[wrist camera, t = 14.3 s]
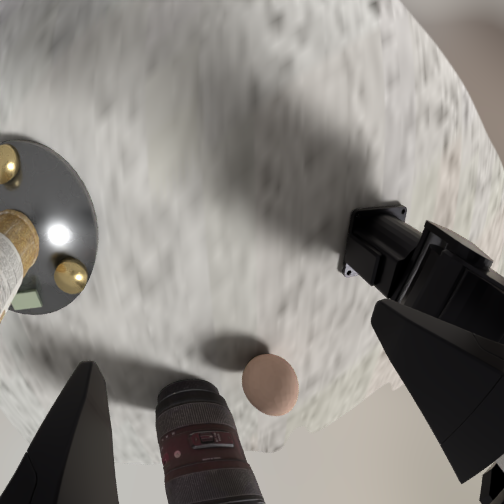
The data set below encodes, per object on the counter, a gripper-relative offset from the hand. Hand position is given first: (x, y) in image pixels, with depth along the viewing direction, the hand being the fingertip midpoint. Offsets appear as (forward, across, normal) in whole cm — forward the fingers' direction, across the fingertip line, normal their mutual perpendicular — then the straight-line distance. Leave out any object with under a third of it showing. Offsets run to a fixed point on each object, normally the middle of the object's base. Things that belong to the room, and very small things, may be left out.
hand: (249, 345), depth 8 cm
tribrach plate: (+13, +13, 0) cm, 18 cm away
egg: (+13, -5, +17) cm, 22 cm away
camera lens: (+13, +3, +21) cm, 25 cm away
